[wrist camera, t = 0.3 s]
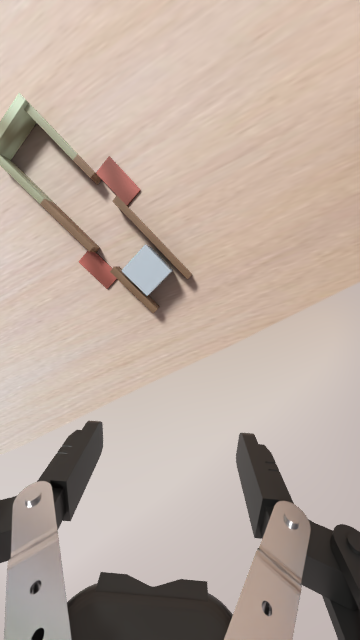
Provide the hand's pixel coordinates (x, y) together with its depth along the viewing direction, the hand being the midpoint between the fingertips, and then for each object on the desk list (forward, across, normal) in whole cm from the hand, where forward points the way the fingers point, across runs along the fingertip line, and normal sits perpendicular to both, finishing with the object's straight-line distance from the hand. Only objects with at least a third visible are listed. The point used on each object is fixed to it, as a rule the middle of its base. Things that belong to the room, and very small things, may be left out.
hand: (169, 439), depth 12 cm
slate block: (+25, +5, -9) cm, 27 cm away
